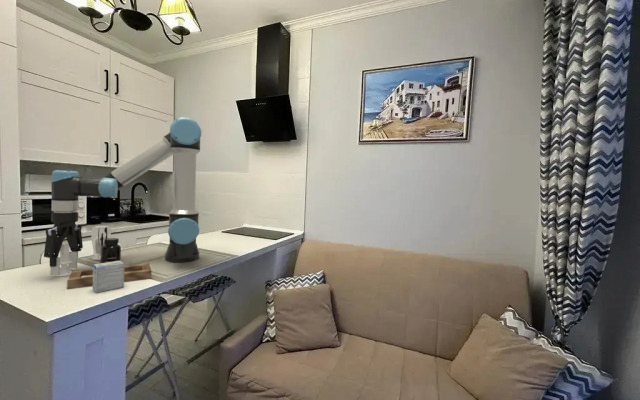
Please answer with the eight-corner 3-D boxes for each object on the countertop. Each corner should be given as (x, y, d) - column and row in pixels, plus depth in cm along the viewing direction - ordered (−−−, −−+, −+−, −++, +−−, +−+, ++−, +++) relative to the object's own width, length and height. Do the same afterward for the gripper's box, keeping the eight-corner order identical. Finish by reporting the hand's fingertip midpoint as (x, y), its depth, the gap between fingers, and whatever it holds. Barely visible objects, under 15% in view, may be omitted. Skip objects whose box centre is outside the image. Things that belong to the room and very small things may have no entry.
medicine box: (120, 284, 100) (120, 260, 99) (124, 287, 97) (124, 262, 96) (92, 289, 93) (92, 264, 93) (95, 293, 91) (96, 267, 90)
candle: (65, 271, 109) (66, 241, 109) (77, 273, 108) (77, 242, 108) (50, 275, 104) (50, 243, 103) (62, 277, 103) (63, 245, 102)
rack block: (148, 270, 116) (149, 262, 116) (151, 278, 107) (151, 269, 107) (72, 279, 102) (72, 270, 102) (67, 289, 93) (67, 279, 93)
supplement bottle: (109, 270, 113) (110, 241, 113) (95, 268, 115) (96, 239, 114) (124, 265, 120) (125, 238, 120) (111, 264, 121) (112, 236, 121)
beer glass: (113, 258, 129) (113, 226, 128) (94, 261, 123) (95, 228, 123) (106, 256, 133) (107, 224, 132) (88, 258, 127) (88, 226, 126)
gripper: (75, 208, 115) (74, 263, 116) (28, 213, 94) (28, 280, 95) (95, 209, 115) (94, 264, 117) (52, 214, 95) (51, 280, 96)
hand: (64, 271), depth 106 cm, fingers open, 8 cm apart
